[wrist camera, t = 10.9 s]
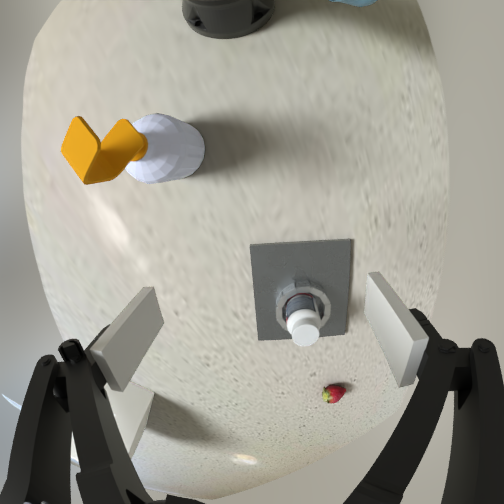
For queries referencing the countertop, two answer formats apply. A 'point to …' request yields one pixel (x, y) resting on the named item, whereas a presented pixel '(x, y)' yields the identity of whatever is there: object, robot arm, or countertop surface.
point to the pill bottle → (303, 319)
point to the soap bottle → (134, 150)
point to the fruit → (332, 393)
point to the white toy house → (128, 414)
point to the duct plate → (300, 283)
